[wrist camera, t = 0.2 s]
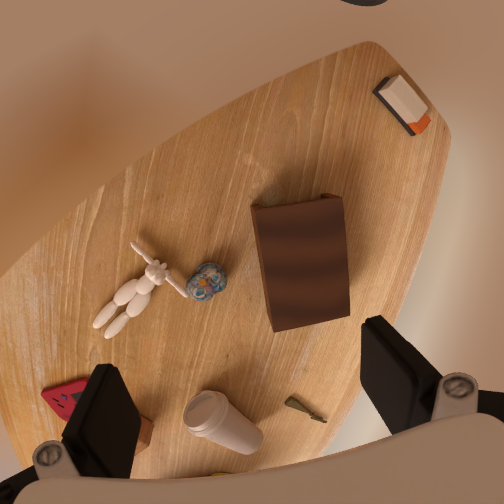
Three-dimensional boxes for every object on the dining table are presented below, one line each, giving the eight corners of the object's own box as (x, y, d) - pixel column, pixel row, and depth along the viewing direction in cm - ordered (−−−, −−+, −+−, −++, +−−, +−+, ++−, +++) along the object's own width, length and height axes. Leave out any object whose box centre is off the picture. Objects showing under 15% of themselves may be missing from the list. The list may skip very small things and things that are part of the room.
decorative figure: (76, 306, 47) (139, 232, 46) (127, 352, 50) (195, 287, 49) (68, 315, 44) (133, 237, 42) (123, 363, 47) (194, 295, 45)
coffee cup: (272, 417, 57) (225, 381, 51) (266, 459, 49) (213, 429, 43) (235, 424, 61) (187, 390, 55) (227, 462, 53) (174, 433, 47)
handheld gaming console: (38, 394, 50) (84, 380, 50) (41, 390, 52) (86, 376, 51) (65, 425, 53) (112, 414, 53) (67, 421, 54) (114, 410, 54)
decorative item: (150, 446, 49) (108, 476, 52) (155, 423, 55) (114, 456, 58) (120, 428, 47) (83, 461, 50) (128, 406, 54) (91, 442, 57)
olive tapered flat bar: (283, 401, 57) (284, 404, 56) (290, 395, 56) (291, 398, 55) (322, 423, 60) (323, 426, 59) (329, 417, 59) (330, 420, 59)
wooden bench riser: (250, 205, 46) (254, 210, 40) (327, 192, 47) (342, 196, 41) (267, 314, 51) (273, 332, 45) (337, 300, 52) (350, 315, 46)
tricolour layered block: (372, 91, 43) (385, 86, 38) (384, 77, 42) (398, 71, 38) (411, 136, 45) (426, 134, 41) (422, 121, 45) (438, 119, 40)
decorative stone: (215, 253, 46) (233, 283, 45) (216, 259, 50) (232, 286, 49) (176, 276, 45) (193, 306, 44) (180, 280, 49) (196, 308, 48)
